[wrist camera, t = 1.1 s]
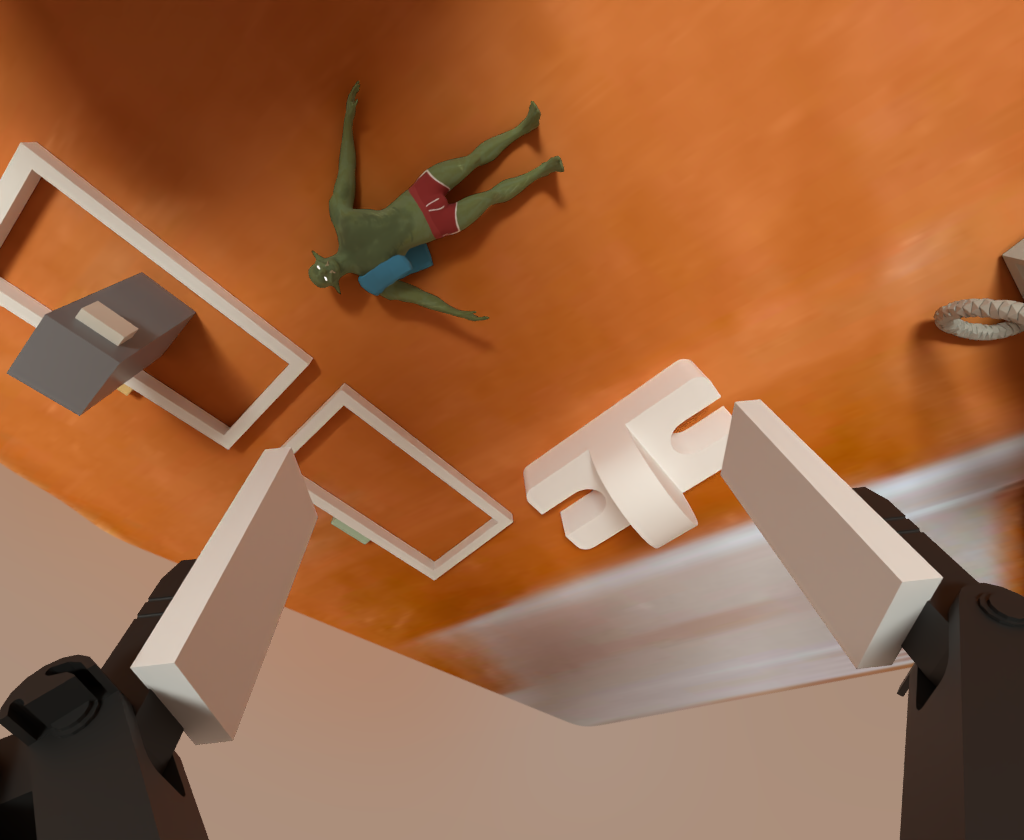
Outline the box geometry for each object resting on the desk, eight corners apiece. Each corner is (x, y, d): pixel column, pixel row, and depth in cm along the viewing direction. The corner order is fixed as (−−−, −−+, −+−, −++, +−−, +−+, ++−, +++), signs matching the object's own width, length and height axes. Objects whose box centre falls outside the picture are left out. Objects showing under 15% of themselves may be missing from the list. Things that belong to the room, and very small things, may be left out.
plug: (107, 320, 36) (6, 373, 28) (147, 264, 34) (51, 304, 26) (160, 356, 37) (79, 415, 30) (202, 304, 36) (126, 353, 28)
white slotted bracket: (517, 470, 45) (528, 551, 37) (686, 352, 40) (744, 414, 32) (577, 526, 50) (599, 611, 41) (736, 425, 45) (800, 498, 36)
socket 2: (257, 469, 43) (252, 478, 42) (344, 382, 39) (341, 389, 38) (427, 577, 51) (426, 586, 50) (512, 513, 48) (513, 522, 47)
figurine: (606, 256, 31) (371, 384, 34) (595, 253, 35) (384, 369, 38) (487, -14, 26) (223, 163, 29) (488, 16, 30) (254, 170, 33)
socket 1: (-42, 280, 34) (-58, 285, 33) (36, 141, 30) (20, 142, 29) (226, 450, 42) (220, 458, 41) (313, 358, 38) (308, 364, 37)
